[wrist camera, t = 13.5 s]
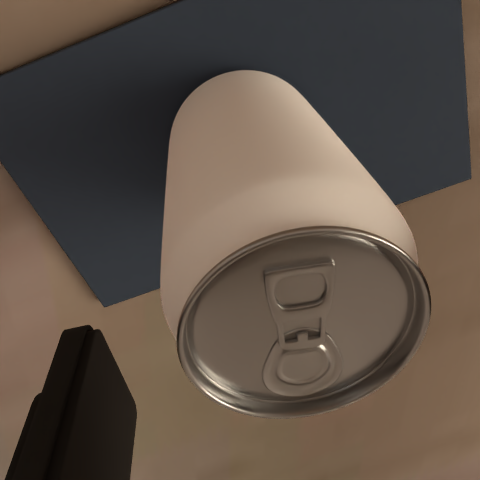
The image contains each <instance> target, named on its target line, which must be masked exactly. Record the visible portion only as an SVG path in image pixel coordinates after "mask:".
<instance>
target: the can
mask: <svg viewBox="0 0 480 480" xmlns="http://www.w3.org/2000/svg"><path fill="white" fill-rule="evenodd" d="M160 292H161V301H162V308H163V313H164V316H165V319H166V322H167V324H168V326H169V329H170V331H171V333H172V335H173V336H174V338H175V339H176V343H177V352H178V357H179V360H180V363H181V366H182V368H183V370H184V372H185V374H186V375H187V377H188V378H189V380H190V381H191V382H192V384H193V385H194V386H195V387H196V388H197V389H198V390H199V391H200V392H201V393H202V394H203V395H205V396H206V397H207V398H209V399H210V400H212V401H213V402H215V403H217V404H218V405H220V406H222V407H225V408H227V409H229V410H232V411H235V412H238V413H241V414H245V415H249V416H254V417H260V418H270V419H291V418H302V417H309V416H314V415H319V414H323V413H327V412H331V411H334V410H337V409H340V408H343V407H345V406H348V405H350V404H353V403H355V402H357V401H359V400H361V399H363V398H365V397H367V396H368V395H370V394H372V393H373V392H375V391H377V390H378V389H380V388H381V387H383V386H384V385H385V384H387V383H388V382H389V381H390V380H392V379H393V378H394V377H395V376H396V375H397V374H398V373H399V372H400V371H401V370H402V369H403V368H404V367H405V366H406V365H407V364H408V363H409V361H410V360H411V359H412V357H413V356H414V355H415V353H416V352H417V350H418V348H419V347H420V345H421V343H422V341H423V339H424V337H425V334H426V332H427V329H428V325H429V321H430V315H431V297H430V291H429V287H428V284H427V281H426V279H425V276H424V274H423V273H422V271H421V269H420V268H419V266H418V255H417V249H416V244H415V241H414V238H413V235H412V232H411V230H410V228H409V226H408V224H407V223H406V221H405V219H404V217H403V216H402V214H401V213H400V211H399V210H398V209H397V207H396V206H395V205H394V203H393V202H392V201H391V199H390V198H389V197H388V196H387V194H386V193H385V192H384V191H383V189H382V188H381V187H380V186H379V185H378V183H377V182H376V181H375V180H374V179H373V177H372V176H371V175H370V174H369V173H368V171H367V170H366V169H365V168H364V167H363V166H362V164H361V163H360V162H359V161H358V160H357V158H356V157H355V156H354V155H353V154H352V153H351V151H350V150H349V149H348V148H347V147H346V145H345V144H344V143H343V142H342V141H341V140H340V138H339V137H338V136H337V135H336V134H335V133H334V131H333V130H332V129H331V128H330V127H329V126H328V124H327V123H326V122H325V121H324V120H323V119H322V117H321V116H320V115H319V114H318V113H317V112H316V111H315V109H314V108H313V107H312V106H311V105H310V104H309V103H308V101H307V100H306V99H305V98H304V97H303V96H302V95H301V94H300V93H299V92H298V91H297V90H296V89H295V88H294V87H293V86H291V85H290V84H289V83H287V82H286V81H284V80H282V79H281V78H279V77H276V76H274V75H271V74H269V73H265V72H261V71H254V70H239V71H232V72H228V73H224V74H221V75H218V76H216V77H214V78H212V79H210V80H208V81H206V82H205V83H203V84H202V85H200V86H199V87H198V88H196V89H195V90H194V91H193V92H192V93H191V94H190V95H189V96H188V97H187V99H186V100H185V101H184V102H183V104H182V105H181V107H180V109H179V111H178V112H177V115H176V117H175V119H174V122H173V125H172V129H171V134H170V141H169V151H168V164H167V177H166V191H165V205H164V220H163V236H162V252H161V275H160Z"/></svg>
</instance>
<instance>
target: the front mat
mask: <svg viewBox="0 0 480 480" xmlns="http://www.w3.org/2000/svg"><path fill="white" fill-rule="evenodd" d="M239 70H254V71H261V72H265V73H269V74H271V75H274V76H276V77H279V78H281V79H282V80H284V81H286V82H287V83H289V84H290V85H291V86H293V87H294V88H295V89H296V90H297V91H298V92H299V93H300V94H301V95H302V96H303V97H304V98H305V99H306V100H307V101H308V103H309V104H310V105H311V106H312V107H313V108H314V109H315V111H316V112H317V113H318V114H319V115H320V116H321V117H322V119H323V120H324V121H325V122H326V123H327V124H328V126H329V127H330V128H331V129H332V130H333V131H334V133H335V134H336V135H337V136H338V137H339V138H340V140H341V141H342V142H343V143H344V144H345V145H346V147H347V148H348V149H349V150H350V151H351V153H352V154H353V155H354V156H355V157H356V158H357V160H358V161H359V162H360V163H361V164H362V166H363V167H364V168H365V169H366V170H367V171H368V173H369V174H370V175H371V176H372V177H373V179H374V180H375V181H376V182H377V183H378V185H379V186H380V187H381V188H382V189H383V191H384V192H385V193H386V194H387V196H388V197H389V198H390V199H391V201H392V202H393V203H394V205H397V204H400V203H403V202H406V201H409V200H412V199H415V198H417V197H420V196H423V195H426V194H429V193H432V192H434V191H437V190H440V189H443V188H446V187H449V186H451V185H454V184H457V183H460V182H463V181H466V180H469V179H471V162H470V145H469V128H468V111H467V93H466V76H465V59H464V42H463V25H462V8H461V0H179V1H177V2H174V3H172V4H170V5H167V6H165V7H162V8H160V9H158V10H155V11H153V12H150V13H148V14H146V15H143V16H141V17H138V18H136V19H134V20H131V21H129V22H126V23H124V24H121V25H119V26H117V27H114V28H112V29H109V30H107V31H105V32H102V33H100V34H97V35H95V36H93V37H90V38H88V39H85V40H83V41H81V42H78V43H76V44H73V45H71V46H68V47H66V48H64V49H61V50H59V51H56V52H54V53H52V54H49V55H47V56H44V57H42V58H40V59H37V60H35V61H32V62H30V63H28V64H25V65H23V66H20V67H18V68H15V69H13V70H11V71H8V72H6V73H3V74H1V75H0V161H1V163H2V164H3V166H4V167H5V169H6V170H7V171H8V173H9V174H10V176H11V177H12V178H13V180H14V181H15V183H16V184H17V185H18V187H19V188H20V190H21V191H22V192H23V194H24V195H25V197H26V198H27V199H28V201H29V202H30V204H31V205H32V206H33V208H34V209H35V211H36V212H37V213H38V215H39V216H40V218H41V219H42V221H43V222H44V223H45V225H46V226H47V228H48V229H49V230H50V232H51V233H52V235H53V236H54V237H55V239H56V240H57V242H58V243H59V244H60V246H61V247H62V249H63V250H64V251H65V253H66V254H67V256H68V257H69V258H70V260H71V261H72V263H73V264H74V265H75V267H76V268H77V270H78V271H79V272H80V274H81V275H82V277H83V278H84V280H85V281H86V282H87V284H88V285H89V287H90V288H91V289H92V291H93V292H94V294H95V295H96V296H97V298H98V299H99V301H100V302H101V303H102V305H103V306H104V307H107V306H110V305H113V304H116V303H119V302H122V301H124V300H127V299H130V298H133V297H136V296H139V295H141V294H144V293H147V292H150V291H153V290H156V289H159V288H160V275H161V252H162V236H163V220H164V205H165V191H166V177H167V164H168V151H169V141H170V134H171V129H172V125H173V122H174V119H175V117H176V115H177V112H178V111H179V109H180V107H181V105H182V104H183V102H184V101H185V100H186V99H187V97H188V96H189V95H190V94H191V93H192V92H193V91H194V90H195V89H196V88H198V87H199V86H200V85H202V84H203V83H205V82H206V81H208V80H210V79H212V78H214V77H216V76H218V75H221V74H224V73H228V72H232V71H239Z"/></svg>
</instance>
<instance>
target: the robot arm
mask: <svg viewBox="0 0 480 480" xmlns="http://www.w3.org/2000/svg"><path fill="white" fill-rule="evenodd" d="M136 419H137V410H136V404H135V401H134V399H133V397H132V395H131V393H130V391H129V389H128V386H127V384H126V382H125V380H124V378H123V376H122V374H121V372H120V370H119V368H118V366H117V363H116V361H115V359H114V357H113V355H112V353H111V351H110V349H109V347H108V345H107V343H106V340H105V338H104V336H103V334H102V332H101V331H100V330H99V329H96V330H93V328H92V327H91V326H90V325H85V326H81V327H76V328H71V329H66V330H64V331H63V333H62V335H61V337H60V340H59V343H58V346H57V349H56V352H55V355H54V358H53V361H52V364H51V367H50V370H49V372H48V375H47V378H46V381H45V384H44V387H43V390H42V393H39V394H38V395H37V396H36V397H35V398H34V400H33V402H32V405H31V407H30V410H29V413H28V416H27V419H26V422H25V424H24V427H23V430H22V433H21V436H20V438H19V441H18V444H17V447H16V450H15V452H14V455H13V458H12V461H11V464H10V466H9V469H8V472H7V475H6V478H5V480H130V473H131V464H132V455H133V446H134V437H135V428H136Z"/></svg>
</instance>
